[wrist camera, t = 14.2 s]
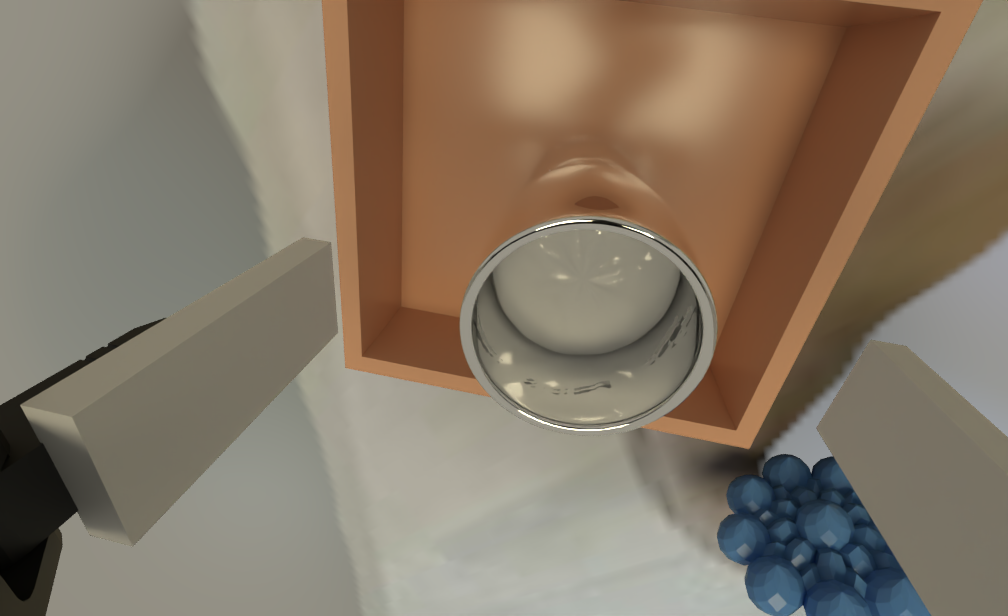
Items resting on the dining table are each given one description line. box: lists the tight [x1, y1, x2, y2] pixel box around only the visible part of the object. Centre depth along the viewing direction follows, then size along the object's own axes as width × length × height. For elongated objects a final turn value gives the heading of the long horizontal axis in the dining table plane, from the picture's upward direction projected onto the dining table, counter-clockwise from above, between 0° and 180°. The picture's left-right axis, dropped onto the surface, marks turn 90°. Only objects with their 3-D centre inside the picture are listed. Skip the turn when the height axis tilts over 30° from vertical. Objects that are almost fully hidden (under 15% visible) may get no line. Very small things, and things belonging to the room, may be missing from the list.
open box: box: [322, 0, 983, 449], centre depth 23 cm, size 22×20×7 cm
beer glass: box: [459, 140, 718, 436], centre depth 18 cm, size 7×7×15 cm
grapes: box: [717, 454, 931, 616], centre depth 27 cm, size 12×7×12 cm, turn 101°
